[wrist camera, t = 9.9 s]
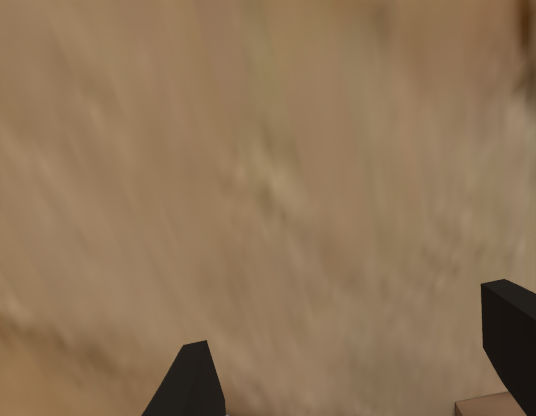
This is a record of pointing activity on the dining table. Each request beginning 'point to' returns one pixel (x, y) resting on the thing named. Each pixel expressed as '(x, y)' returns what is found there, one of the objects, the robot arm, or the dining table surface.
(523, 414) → the walnut base
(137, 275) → the dining table surface
